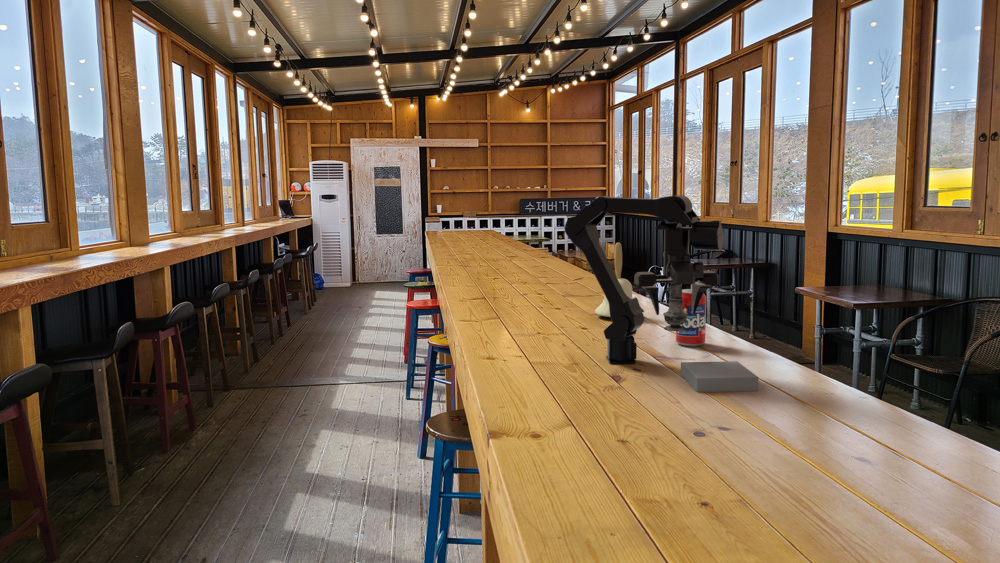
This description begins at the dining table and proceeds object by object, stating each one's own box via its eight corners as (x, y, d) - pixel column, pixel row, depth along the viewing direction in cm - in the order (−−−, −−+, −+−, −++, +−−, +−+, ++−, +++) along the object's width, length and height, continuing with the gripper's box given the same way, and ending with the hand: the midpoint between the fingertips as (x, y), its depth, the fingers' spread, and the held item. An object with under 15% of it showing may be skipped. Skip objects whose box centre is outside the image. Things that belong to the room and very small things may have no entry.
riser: (696, 391, 142) (697, 378, 142) (680, 374, 155) (680, 362, 155) (758, 390, 142) (758, 377, 142) (736, 373, 155) (737, 361, 155)
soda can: (702, 341, 188) (703, 288, 186) (707, 347, 180) (709, 292, 178) (673, 341, 189) (674, 288, 187) (678, 347, 181) (679, 292, 179)
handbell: (648, 315, 226) (649, 241, 223) (631, 323, 214) (632, 245, 210) (605, 311, 235) (605, 240, 231) (587, 319, 222) (587, 243, 218)
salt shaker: (691, 331, 157) (692, 280, 156) (667, 332, 157) (667, 281, 155) (683, 326, 163) (683, 277, 162) (659, 326, 163) (660, 277, 161)
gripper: (644, 253, 149) (643, 322, 152) (727, 251, 149) (726, 320, 152) (634, 248, 160) (633, 312, 163) (711, 247, 161) (710, 311, 163)
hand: (675, 314), depth 160 cm, fingers closed on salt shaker, 8 cm apart
